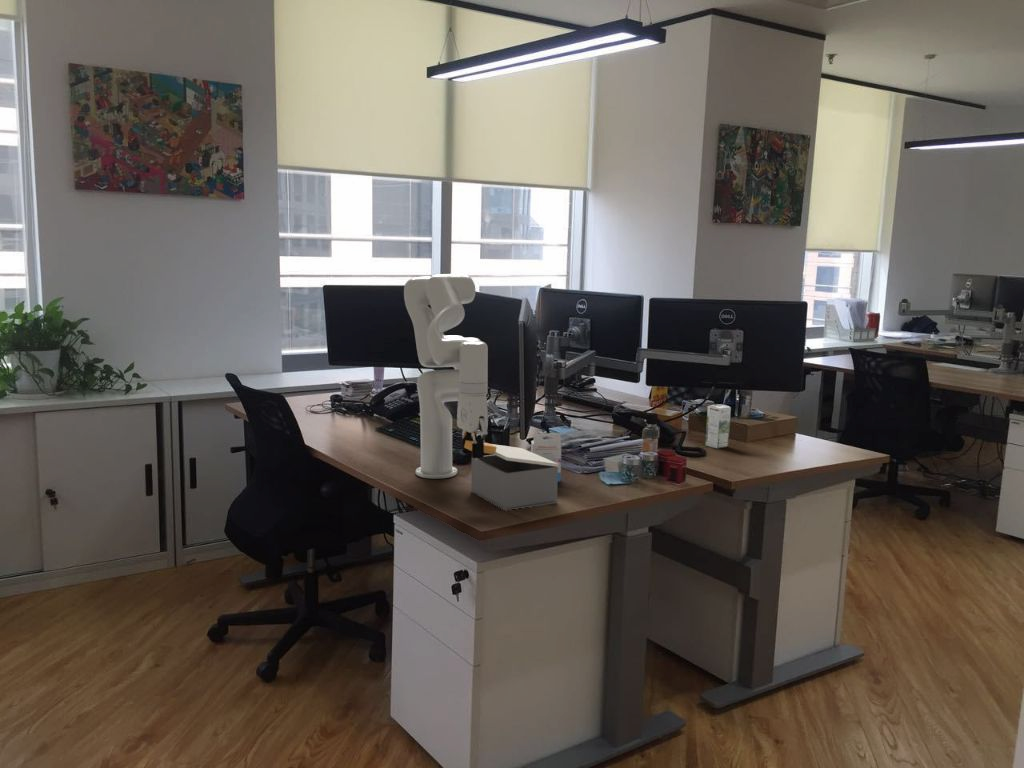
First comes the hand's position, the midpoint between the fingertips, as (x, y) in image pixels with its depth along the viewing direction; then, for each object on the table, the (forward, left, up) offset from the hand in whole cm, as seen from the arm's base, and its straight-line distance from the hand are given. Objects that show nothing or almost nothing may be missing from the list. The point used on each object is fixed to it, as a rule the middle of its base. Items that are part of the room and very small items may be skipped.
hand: (473, 454), depth 228 cm
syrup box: (-21, +105, -14) cm, 108 cm away
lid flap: (0, +10, -1) cm, 10 cm away
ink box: (-11, +29, -14) cm, 34 cm away
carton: (0, +12, -14) cm, 18 cm away
